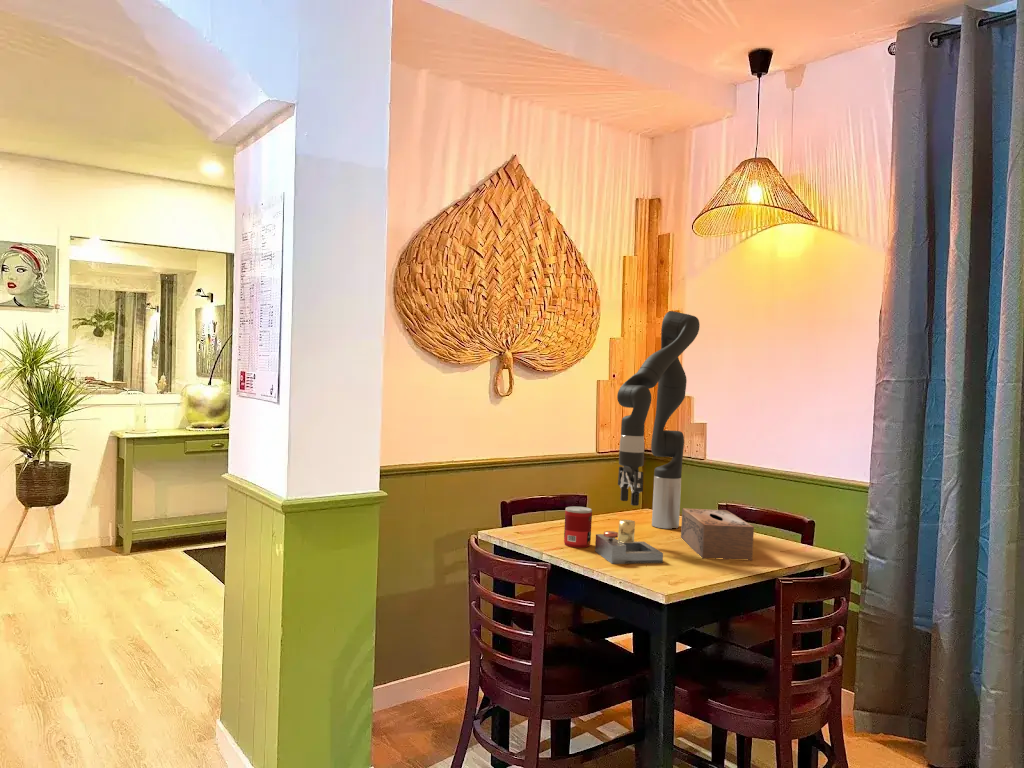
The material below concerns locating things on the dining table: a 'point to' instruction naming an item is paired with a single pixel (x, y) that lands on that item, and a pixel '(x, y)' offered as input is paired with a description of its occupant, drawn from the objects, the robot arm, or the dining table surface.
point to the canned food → (577, 527)
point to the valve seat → (625, 550)
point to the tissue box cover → (717, 534)
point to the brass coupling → (626, 530)
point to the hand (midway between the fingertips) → (629, 503)
